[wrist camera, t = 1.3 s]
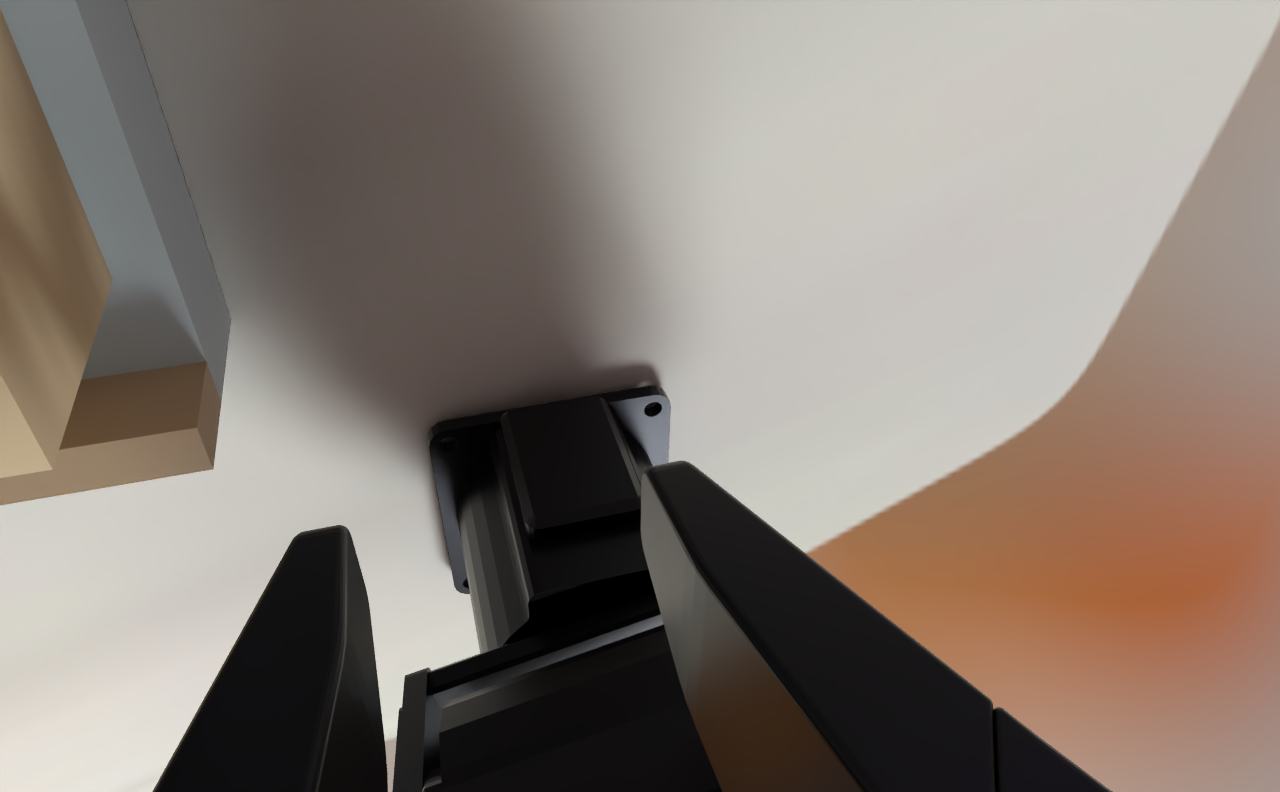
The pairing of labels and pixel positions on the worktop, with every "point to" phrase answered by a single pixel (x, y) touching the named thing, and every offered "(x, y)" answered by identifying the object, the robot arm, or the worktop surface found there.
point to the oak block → (40, 278)
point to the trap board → (126, 258)
